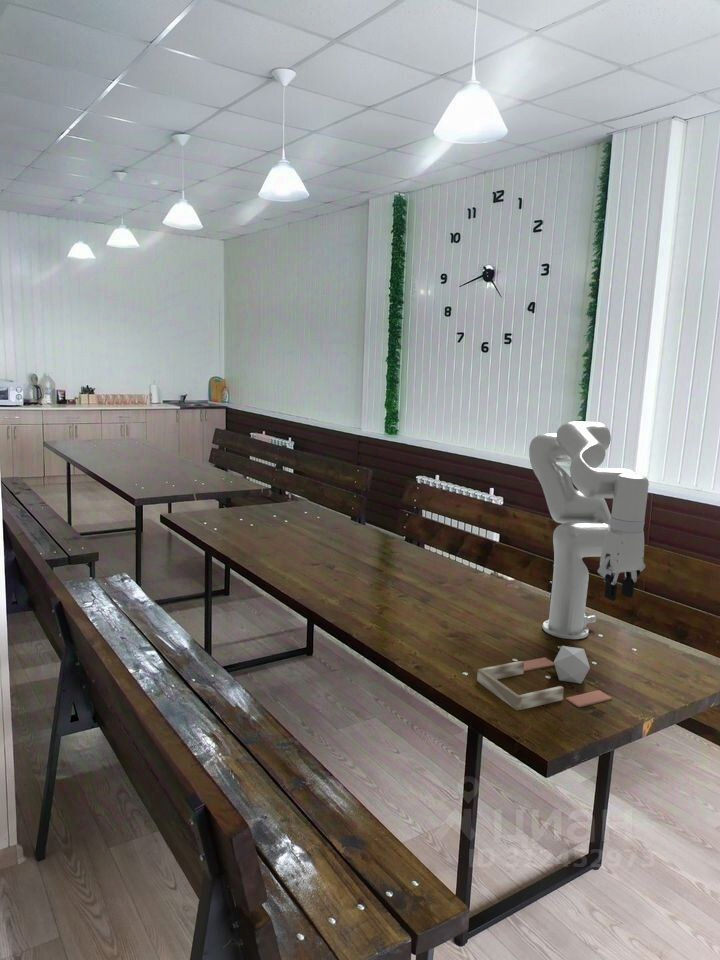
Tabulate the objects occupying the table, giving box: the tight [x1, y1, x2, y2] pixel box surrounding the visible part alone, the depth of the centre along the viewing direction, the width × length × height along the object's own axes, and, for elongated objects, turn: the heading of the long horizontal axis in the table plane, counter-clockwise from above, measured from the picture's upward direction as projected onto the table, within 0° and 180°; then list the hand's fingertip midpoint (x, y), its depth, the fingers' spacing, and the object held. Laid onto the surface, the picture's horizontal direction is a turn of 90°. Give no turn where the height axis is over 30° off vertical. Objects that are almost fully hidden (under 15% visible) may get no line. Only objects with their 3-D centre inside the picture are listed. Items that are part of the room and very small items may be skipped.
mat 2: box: [565, 689, 613, 708], centre depth 163 cm, size 10×4×1 cm, turn 116°
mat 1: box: [522, 656, 555, 672], centre depth 179 cm, size 10×4×1 cm, turn 116°
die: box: [553, 645, 591, 685], centre depth 172 cm, size 8×9×10 cm
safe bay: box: [476, 660, 565, 712], centre depth 165 cm, size 13×15×3 cm
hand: (618, 596), depth 174 cm, fingers open, 4 cm apart
